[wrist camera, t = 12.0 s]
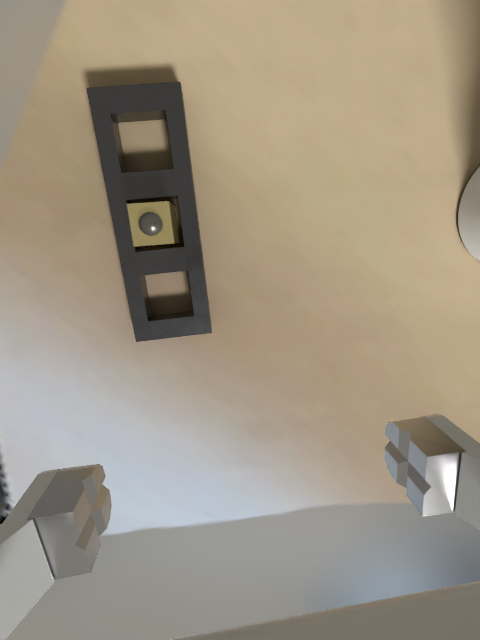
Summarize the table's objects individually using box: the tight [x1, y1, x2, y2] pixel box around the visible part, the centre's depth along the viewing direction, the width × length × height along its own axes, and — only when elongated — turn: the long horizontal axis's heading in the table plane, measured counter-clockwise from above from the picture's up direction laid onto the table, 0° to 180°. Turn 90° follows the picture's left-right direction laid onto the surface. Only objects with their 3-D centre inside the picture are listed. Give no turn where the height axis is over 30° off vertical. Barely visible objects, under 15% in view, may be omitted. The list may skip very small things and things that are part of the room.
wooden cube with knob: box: [127, 201, 180, 247], centre depth 33 cm, size 4×4×6 cm
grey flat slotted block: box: [87, 82, 212, 342], centre depth 35 cm, size 9×26×2 cm, turn 6°
